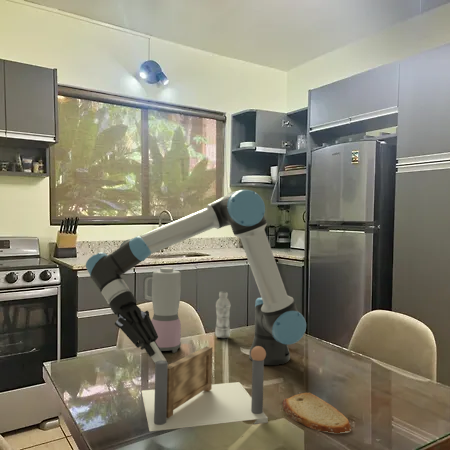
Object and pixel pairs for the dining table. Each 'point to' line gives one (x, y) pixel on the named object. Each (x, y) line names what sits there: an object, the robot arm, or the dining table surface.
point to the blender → (165, 307)
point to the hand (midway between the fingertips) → (161, 363)
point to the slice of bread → (315, 413)
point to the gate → (188, 378)
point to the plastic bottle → (222, 316)
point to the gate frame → (208, 401)
